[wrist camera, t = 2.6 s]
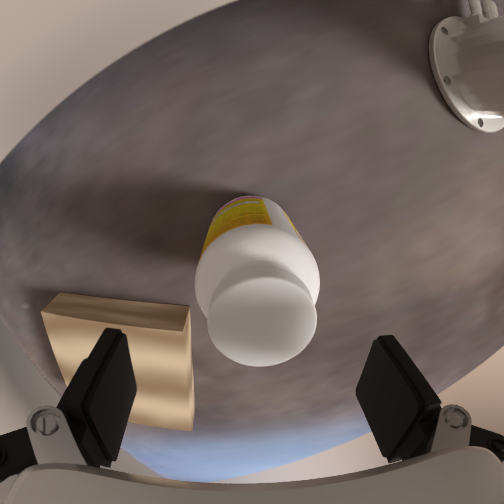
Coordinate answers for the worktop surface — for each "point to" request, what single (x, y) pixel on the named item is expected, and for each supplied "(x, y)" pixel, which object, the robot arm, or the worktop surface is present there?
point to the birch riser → (131, 350)
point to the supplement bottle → (257, 283)
